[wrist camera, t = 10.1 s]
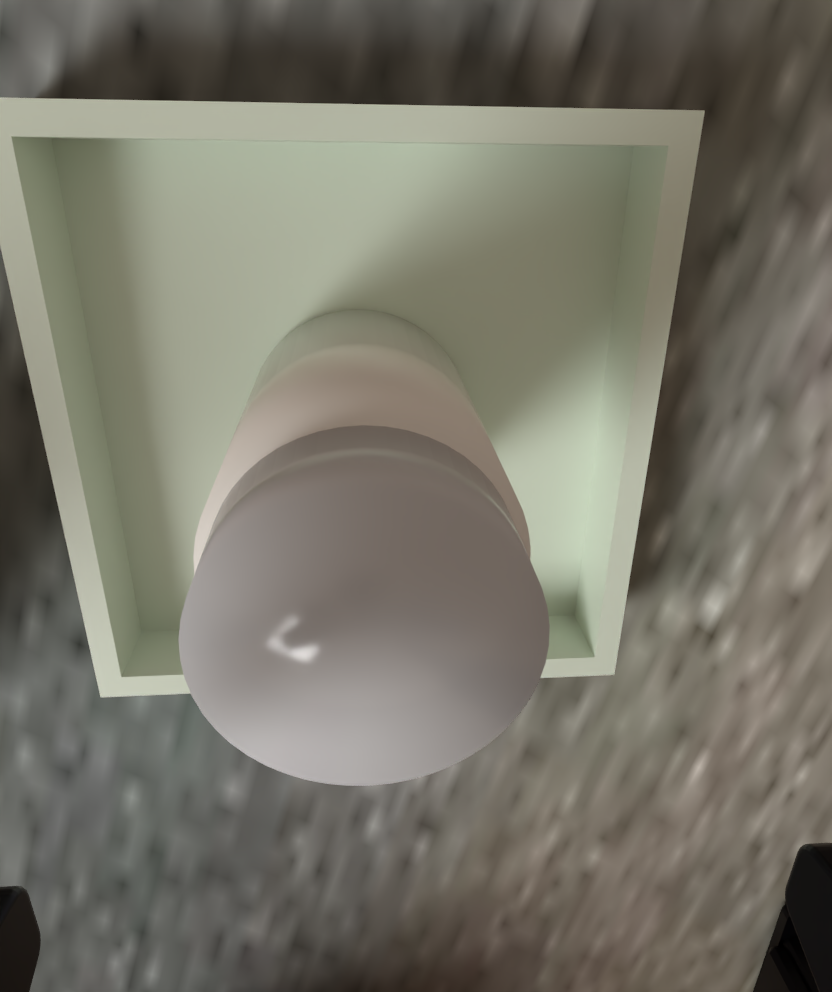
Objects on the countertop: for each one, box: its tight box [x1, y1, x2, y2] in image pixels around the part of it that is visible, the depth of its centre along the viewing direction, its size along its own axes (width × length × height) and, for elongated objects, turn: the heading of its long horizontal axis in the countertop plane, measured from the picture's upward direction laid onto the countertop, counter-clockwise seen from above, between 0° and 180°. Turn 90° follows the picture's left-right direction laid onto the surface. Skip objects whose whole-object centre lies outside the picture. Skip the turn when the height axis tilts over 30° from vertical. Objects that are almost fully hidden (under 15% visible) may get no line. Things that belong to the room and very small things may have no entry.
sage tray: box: [0, 98, 705, 697], centre depth 17 cm, size 13×13×2 cm
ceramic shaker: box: [179, 309, 550, 786], centre depth 13 cm, size 5×5×9 cm
